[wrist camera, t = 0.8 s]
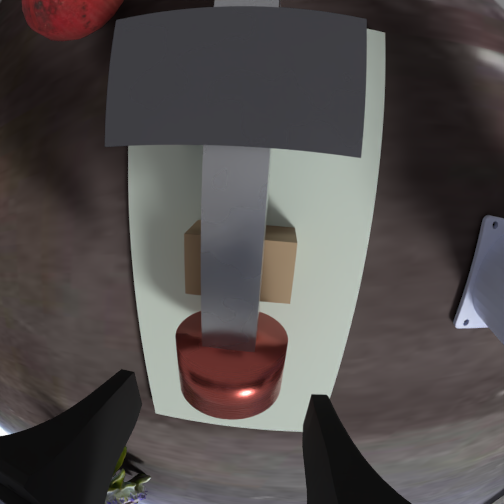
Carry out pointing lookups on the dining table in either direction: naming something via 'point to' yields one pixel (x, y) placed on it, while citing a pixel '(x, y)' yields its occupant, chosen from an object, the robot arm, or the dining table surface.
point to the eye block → (239, 79)
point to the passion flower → (126, 486)
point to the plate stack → (499, 501)
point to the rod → (232, 287)
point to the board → (278, 214)
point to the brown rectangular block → (274, 263)
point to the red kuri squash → (68, 17)
